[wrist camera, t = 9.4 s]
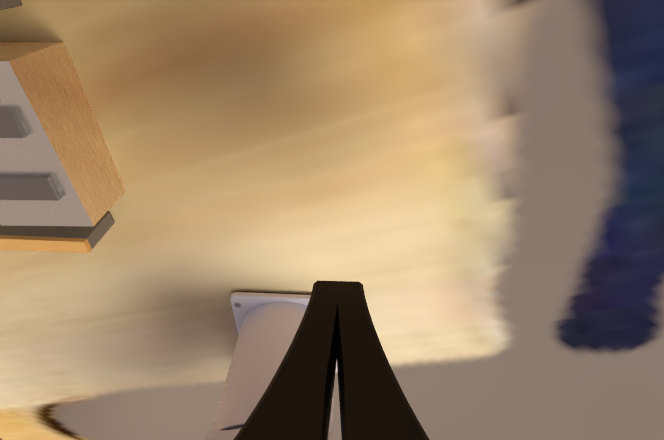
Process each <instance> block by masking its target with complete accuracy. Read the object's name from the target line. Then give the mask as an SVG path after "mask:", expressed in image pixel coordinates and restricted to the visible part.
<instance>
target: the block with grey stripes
mask: <svg viewBox="0 0 664 440" xmlns="http://www.w3.org/2000/svg"><path fill="white" fill-rule="evenodd" d="M125 191H126V190H125V188H124V186H123V183H122V181H121V178H120V176H119V174H118V171H117V169H116V166H115V164H114V162H113V159H112V157H111V154H110V152H109V150H108V147H107V145H106V143H105V140H104V138H103V135H102V133H101V131H100V128H99V126H98V123H97V121H96V119H95V116H94V114H93V111H92V109H91V107H90V104H89V102H88V99H87V97H86V95H85V92H84V90H83V87H82V85H81V83H80V80H79V78H78V75H77V73H76V71H75V68H74V66H73V63H72V61H71V59H70V56H69V54H68V51H67V49H66V47H65V44H64V42H0V225H4V226H95V225H96V223H97V222H98V221H99V220H100V219H101V218H102V217H103V216H104V214H105V213H106V212H107V211H108V210H109V209H110V208H111V207H112V205H113V204H114V203H115V202H116V201H117V200H118V199H119V198H120V196H121V195H122V194H123V193H124V192H125Z"/></svg>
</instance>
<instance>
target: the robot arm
mask: <svg viewBox="0 0 664 440" xmlns="http://www.w3.org/2000/svg"><path fill="white" fill-rule="evenodd" d="M230 301H231V306H232V311H233V315H234V320H235V324H236V329H237V333H238V339H237V343H236V346H235V350H234V354H233V357H232V361H231V364H230V368H229V371H228V375H227V379H226V382H225V386H224V389H223V393H222V397H221V400H220V404H219V408H218V411H217V415H216V419H215V422H214V426H213V429H212V430H208V432H207V436H206V439H205V440H332V421H333V420H332V419H333V390H334V380H335V373H337V372H338V384H339V401H340V416H341V432H342V440H429V438H428V437H427V435H426V433H425V431H424V430H423V428H422V426H421V425H420V423H419V421H418V420H417V418H416V416H415V414H414V412H413V410H412V408H411V407H410V405H409V403H408V401H407V399H406V397H405V395H404V394H403V392H402V390H401V388H400V386H399V384H398V382H397V379H396V377H395V375H394V373H393V371H392V369H391V367H390V365H389V362H388V360H387V358H386V355H385V353H384V351H383V348H382V346H381V343H380V341H379V338H378V336H377V333H376V331H375V328H374V325H373V322H372V319H371V316H370V313H369V310H368V307H367V303H366V299H365V295H364V290H363V285H362V284H361V283H360V282H344V281H317V282H315V283H314V285H313V290H312V293H311V295H296V294H272V293H248V292H234V293H232V295H231V297H230Z"/></svg>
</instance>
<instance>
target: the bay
mask: <svg viewBox="0 0 664 440" xmlns="http://www.w3.org/2000/svg"><path fill="white" fill-rule="evenodd" d="M17 6H22V4H21V2H20V0H0V10H1V9H7V8H12V7H17ZM113 224H114V221H113V218H112V216H111V214H110V212H106V213H105V214H104V216H103V217H102V218H101V219H100V220H99V221H98V222H97V223H96V225H95V226H4V225H0V249H6V250H31V251H55V252H80V253H89V252H90V251H91V250H92V249H93V248H94V246H95V245H96V244H97V243H98V242H99V240H100V239H101V238H102V237H103V236H104V234H105V233H106V232H107V231H108V230H109V228H110V227H111V226H112V225H113Z"/></svg>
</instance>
